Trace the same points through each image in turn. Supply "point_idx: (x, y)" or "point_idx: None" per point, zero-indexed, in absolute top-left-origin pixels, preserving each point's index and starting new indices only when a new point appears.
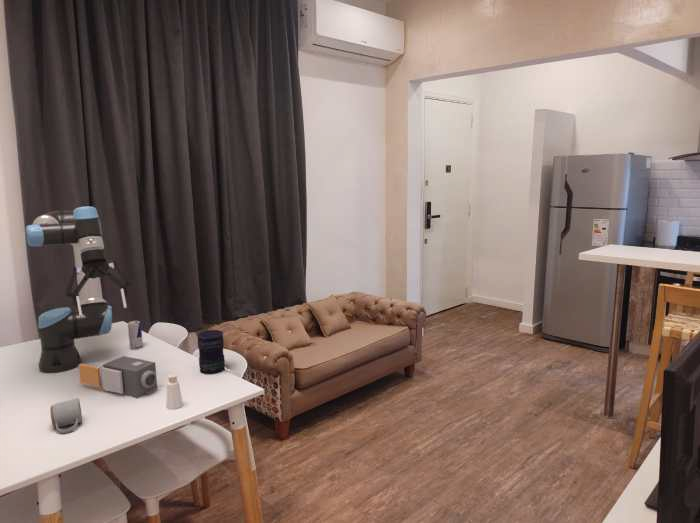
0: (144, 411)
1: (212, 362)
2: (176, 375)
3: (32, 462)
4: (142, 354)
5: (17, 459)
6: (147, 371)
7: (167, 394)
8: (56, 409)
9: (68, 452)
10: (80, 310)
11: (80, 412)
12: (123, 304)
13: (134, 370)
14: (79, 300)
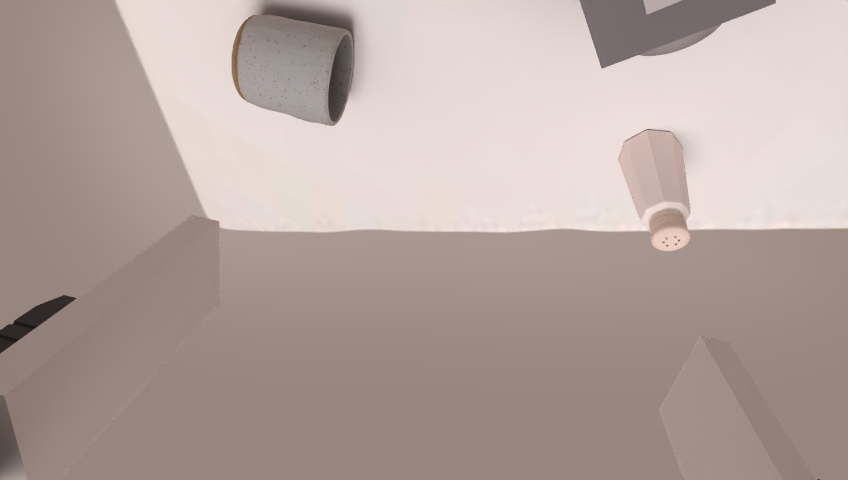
0: (551, 125)
1: None
2: (682, 246)
3: (244, 191)
4: None
5: (205, 160)
6: (677, 40)
7: (633, 184)
8: (257, 104)
9: (318, 200)
10: (179, 334)
11: (346, 34)
12: (698, 400)
13: (606, 51)
14: (96, 437)
